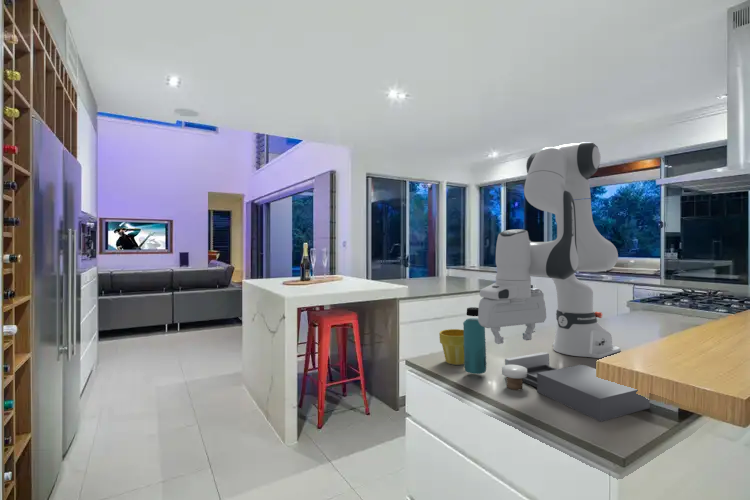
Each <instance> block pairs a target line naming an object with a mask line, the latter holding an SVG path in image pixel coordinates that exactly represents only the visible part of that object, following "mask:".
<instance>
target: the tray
mask: <svg viewBox="0 0 750 500" xmlns="http://www.w3.org/2000/svg"><path fill="white" fill-rule="evenodd" d="M504 365H520V366H523V367H525V368H527V377H525V378H522V382H523V383H526V384H529V385H530V386H532V387H535V388H537V373H539V372H545V371H550V370H555V369H557V368H555V367H553V366H550V353H549V352H546V351H544V352H537V353H532V354H527V355H526V354H525V355H519V356H513V357H508V358H504Z"/></svg>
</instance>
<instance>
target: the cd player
mask: <svg viewBox="0 0 750 500" xmlns="http://www.w3.org/2000/svg"><path fill="white" fill-rule="evenodd" d="M596 369H597V368H594V367H591V366H588V365H585V364H583V363H582V364H577V365H572V366H567V367H561V368H556V369H555V370H550V371H545V372H539V373H537V387H536V388H537V390H536V391H537V393H539V394H541V395H543V396H545V397H547V398H549V399H551V400H554V401H556V402H558V403H560V404H562V405H564V406H565V407H568V408H571V409H573V410H574V411H577V412H579V413H581V414H584V415H585V416H588V417H590V418H592V419H594V420H596V421H599V422H605V421H608V420H612V419H615V418H618V417H623V416H626V415H629V414H634V413H638V412H641V411H645V410H648V409H650V400H651V399H650V400H648V399H646V398H645V397H643V396H641V395H638V394H636V392H637V391H638V390H637V389H634V388H631V387H627V386H624V385H620V384H617V383H615V382H611V381H608V380H604V379H601V378H598V377H596Z"/></svg>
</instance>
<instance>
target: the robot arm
mask: <svg viewBox="0 0 750 500" xmlns="http://www.w3.org/2000/svg"><path fill="white" fill-rule="evenodd" d="M600 163H601V152H600V150H599V148H598V146H597V144H595V143H594V142H591V141H589V142H587V141H586V142H585V141H582V142H580V143H568V144H562V145H559V146H554V147H553V146H549V147H547V146H546V147H544V148H541V149H539V150H537V151H535V152H533V153H531V154H530V155H529V157H528V158H527V161H526V173H527V176H526V178H525V182H524V186H523V187H524V188H523V193H524V194H523V195H524V197H525V199H526V201H527V202H528V203H529V204H530V205H531V206H533V207H534V208H536V209H537V210H540V211H543V212H548V213H550V214H553V215H555V223H556V238H555V239H554V240H550V241H548V240H547V241H532V240H531V239H530V236H529V232H528V230H525V229H523V228H522V229H521V228H519V229H518V228H517V229H507V230H503V231H501V232H499V233H498V235H497V238H496V239H497V240H496V245H495V246H496V247H495V266H496V275H495V282H494V283H492V284H490V285H487V286H485V287H483V288H481V289H479V296H480V297H481V299H480V300H479V303H478V308H479V309H478V316H477V318H478V321H479V324H480V325H481V326H482V327H485V329H486V328H487V329H490V331H491V332H492V335H493V336H494V343H495V344H497V345H502V344H504V340H505V339H504V336H502V335H501V334H500V332H501V328H503V327H513V326H521V325H522V326H525V327H526V328H525V330H524V332H522V340H524V341H531V340H532V338H533V337H532V334H533V332H534V330H535V329H536V324H540V323H545V322H546V319H547V309H546V308H547V307H546V303H545V299H544V298H545V297H544V295H545V294H544V293H543V291H542V290H540V288H531V286H532V279H531V278H532V277H539V278H541V277H542V278H551V279H552V281H553V283H554V287H555V290H556V297H557V309H556V313H555V316H556V317H555V318H556V321H557V323H556V324H555V332H554V333H555V334H554V341H553V342H552V346H553V347H552V349H553V350H554V351H555V352H557V353H560V354H563V355H567V356H572V357H573V356H574V357H584V358H587V357H588V358H593V359H601V358H604V357H607V356H610V355H613V354H616V353H619V352H621V347H619V346H617V345H615V344H613V337H612V333H611V332H610V331H609V330H607V329H606V328H605V327H603V326H602V325H601V324H600V323H599V322H598V319H597V318H599V319H602V318H603V312H601V311H594V291H593V289H592V288H591V286H590V285H588V284H587V283H585V282H583V281H581V280H579V279H578V278H577V277H576V275H575V273H576V272H585V273H589V272H590V273H598V272H605V271H610V270H611V271H612V269H613V268H614V267H615V266H616V264H617V263H618V260H619V254H618V253H619V252H618V249H617V248H616V246H615V245H614V243H612V242H611V241H610V240H609V239H606V238H605V237H604V236H603V235H601V233H600V231H598V229H597V227H596V226H595V223H594V220H593V212H592V197H591V196H592V195H591V188H590V187H591V186H590V181H589V180H590V179H591V176H594V174H596V172H597V171H598V170H599V167H600Z"/></svg>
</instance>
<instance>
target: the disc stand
mask: <svg viewBox="0 0 750 500" xmlns="http://www.w3.org/2000/svg"><path fill="white" fill-rule="evenodd" d="M523 383H524V382H523V381H522V378H520V379H516V378H509V377H506V388H507V389H510V390H513V391H521V390H523V385H524V384H523Z"/></svg>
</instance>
